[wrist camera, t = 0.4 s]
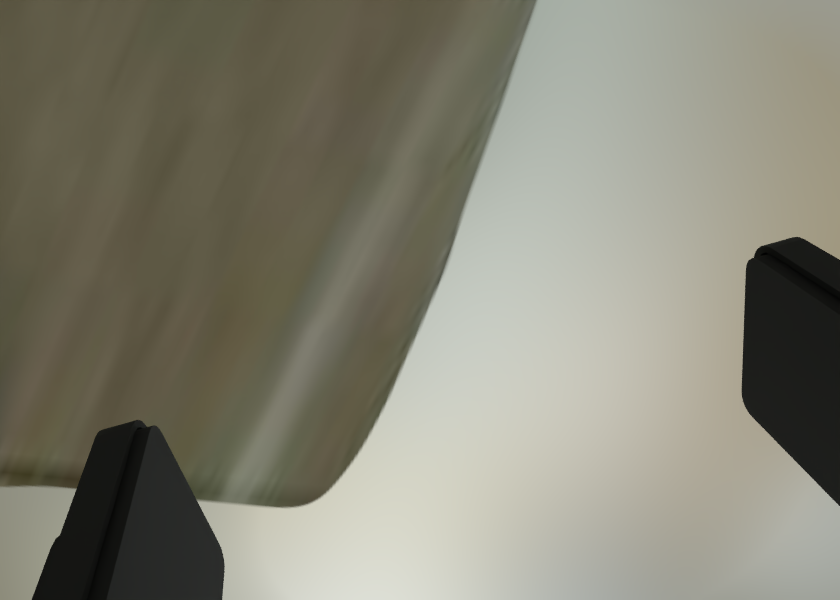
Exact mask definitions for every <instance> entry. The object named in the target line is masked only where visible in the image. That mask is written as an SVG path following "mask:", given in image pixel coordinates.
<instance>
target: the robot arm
mask: <svg viewBox="0 0 840 600" xmlns="http://www.w3.org/2000/svg"><path fill="white" fill-rule="evenodd" d="M742 398H743V402H744V405H745V407H746V409H747V410H748V412H749V414H750V415H751V416H752V417H753V418H754V419H755V420H756V421H757V422H758V423H759V424H760V425H761V426H762V427H763V428H764V429H765V430H766V431H767V432H768V433H769V434H770V435H771V436H772V437H773V438H774V440H776V441H777V443H778V444H779V445H780V446H781V447H782V448H783V449H784V450H785V451H786V452H787V453H788V454H789V455H790V456H791V457H793V459H794V460H795V461H796V462H797V463H798V464H799V465H800V466H801V467H802V468H803V469H804V470H805V471H806V472H807V473H808V474H809V475H810V476H811V477H812V478H813V479H814V480H815V481H816V482H817V483H818V484H819V485H820V486H821V487H822V488H823V489H824V491H825V492H827V494H829V496H830V497H831V498H832V499H833V500H834V501H835V502H836V503H837V504H838V505H839V506H840V260H839V259H837V258H835V257H834V256H832V255H830V254H829V253H827V252H825V251H823V250H822V249H820V248H818V247H816V246H815V245H813V244H811V243H810V242H808V241H806V240H804V239H802V238H800V237H793V238H789V239H786V240H782V241H779V242H775V243H771V244H768V245H764V246H761V247H760V248H758V249H757V251H756V253H755V256H754V258H752V259H751V260H749V261H748V263H747V267H746V285H745V314H744V341H743V370H742ZM223 581H224V558H223V554H222V550H221V547H220V545H219V543H218V541H217V539H216V537H215V535H214V533H213V531H212V529H211V527H210V525H209V523H208V522H207V519H206V518H205V516H204V514H203V512H202V510H201V508H200V506H199V504H198V502H197V500H196V498H195V496H194V494H193V492H192V490H191V488H190V487H189V485H188V483H187V481H186V479H185V477H184V475H183V473H182V471H181V469H180V467H179V465H178V463H177V461H176V459H175V458H174V456H173V454H172V452H171V450H170V448H169V446H168V444H167V442H166V440H165V438H164V436H163V434H162V433H161V431H160V429H159V428H158V427H157V426H150V427H146V425H145V424H144V423H143V422H142V421H140V420H136V421H132V422H129V423H125V424H121V425H118V426H114V427H111V428H107V429H103V430H101V431H99V432H98V433H97V435H96V437H95V440H94V443H93V445H92V448H91V451H90V454H89V456H88V459H87V462H86V465H85V468H84V470H83V473H82V476H81V479H80V481H79V484H78V487H77V490H76V492H75V495H74V498H73V501H72V503H71V506H70V509H69V512H68V514H67V518H66V520H65V523H64V526H63V529H62V531H61V534H60V536H59V537H57V538H56V539H55V542H54V543H53V545H52V547H51V549H50V552H49V554H48V557H47V560H46V563H45V565H44V568H43V571H42V574H41V576H40V579H39V582H38V584H37V587H36V590H35V593H34V595H33V598H32V600H222V593H223Z"/></svg>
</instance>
